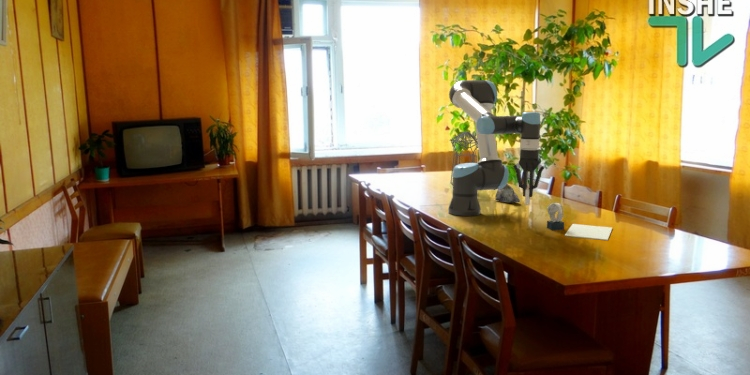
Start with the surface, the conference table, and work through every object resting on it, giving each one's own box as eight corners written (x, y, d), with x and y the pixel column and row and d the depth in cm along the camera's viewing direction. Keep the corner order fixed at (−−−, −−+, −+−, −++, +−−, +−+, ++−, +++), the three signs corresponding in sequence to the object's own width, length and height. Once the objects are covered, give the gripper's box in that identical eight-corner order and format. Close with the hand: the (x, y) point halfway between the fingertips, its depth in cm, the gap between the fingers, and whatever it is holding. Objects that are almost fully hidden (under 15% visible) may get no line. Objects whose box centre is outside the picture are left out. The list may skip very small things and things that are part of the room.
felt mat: (564, 235, 231) (564, 234, 231) (572, 224, 251) (572, 223, 250) (607, 240, 224) (607, 239, 224) (612, 228, 243) (612, 227, 243)
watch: (556, 226, 248) (557, 201, 246) (566, 230, 240) (567, 204, 238) (544, 226, 247) (545, 201, 245) (553, 231, 239) (555, 205, 237)
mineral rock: (520, 205, 294) (521, 185, 293) (499, 205, 294) (500, 185, 292) (514, 200, 307) (514, 181, 305) (493, 200, 307) (494, 181, 305)
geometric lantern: (446, 190, 337) (449, 130, 332) (473, 190, 339) (475, 130, 334) (453, 195, 322) (456, 131, 317) (480, 195, 324) (484, 132, 318)
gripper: (512, 149, 243) (509, 204, 246) (543, 150, 237) (541, 207, 241) (516, 147, 249) (514, 201, 253) (547, 148, 244) (544, 204, 247)
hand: (527, 204), depth 247 cm, fingers closed
